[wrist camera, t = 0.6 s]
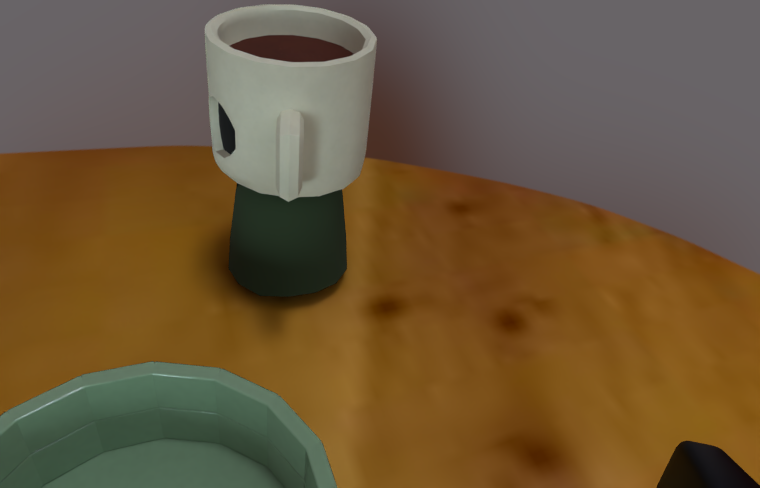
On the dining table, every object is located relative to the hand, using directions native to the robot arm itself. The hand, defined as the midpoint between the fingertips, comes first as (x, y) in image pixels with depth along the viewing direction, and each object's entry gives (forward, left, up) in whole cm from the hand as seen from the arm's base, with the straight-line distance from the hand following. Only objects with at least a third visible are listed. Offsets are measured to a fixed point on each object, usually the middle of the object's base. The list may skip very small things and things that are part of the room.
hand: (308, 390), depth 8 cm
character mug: (+21, +3, -16) cm, 27 cm away
